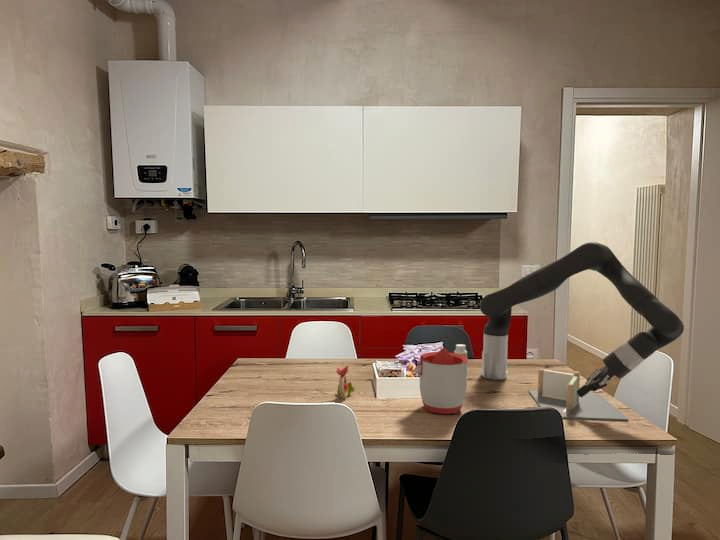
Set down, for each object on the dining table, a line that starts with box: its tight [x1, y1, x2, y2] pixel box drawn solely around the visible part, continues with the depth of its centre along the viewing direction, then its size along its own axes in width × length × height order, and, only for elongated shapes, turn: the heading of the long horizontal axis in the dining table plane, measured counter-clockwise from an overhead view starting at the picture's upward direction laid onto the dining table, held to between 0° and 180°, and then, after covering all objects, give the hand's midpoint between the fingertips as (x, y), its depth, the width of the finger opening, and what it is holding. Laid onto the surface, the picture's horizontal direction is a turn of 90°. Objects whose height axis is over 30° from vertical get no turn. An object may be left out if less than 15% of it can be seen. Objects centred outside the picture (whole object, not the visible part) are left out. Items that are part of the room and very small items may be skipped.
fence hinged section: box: [566, 376, 578, 412], centre depth 169 cm, size 12×2×9 cm, turn 149°
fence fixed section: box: [537, 368, 581, 402], centre depth 178 cm, size 14×2×10 cm, turn 55°
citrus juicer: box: [413, 347, 469, 415], centre depth 168 cm, size 16×17×20 cm
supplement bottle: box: [453, 343, 468, 358], centre depth 217 cm, size 5×5×10 cm
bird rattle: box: [336, 365, 355, 401], centre depth 179 cm, size 6×11×9 cm
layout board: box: [528, 390, 630, 422], centre depth 173 cm, size 24×25×1 cm
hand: (578, 394), depth 165 cm, fingers closed
